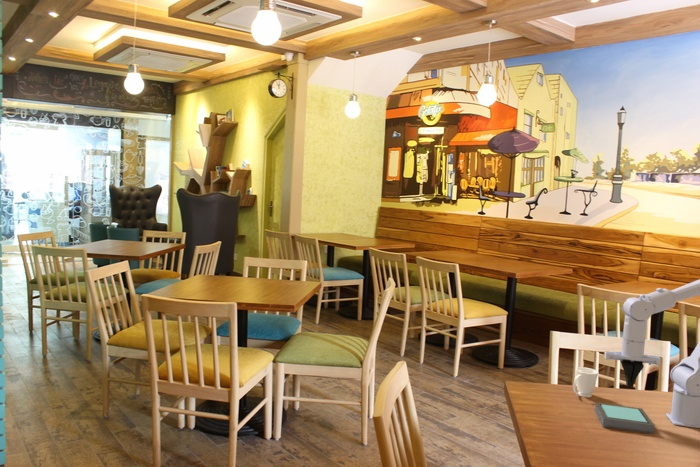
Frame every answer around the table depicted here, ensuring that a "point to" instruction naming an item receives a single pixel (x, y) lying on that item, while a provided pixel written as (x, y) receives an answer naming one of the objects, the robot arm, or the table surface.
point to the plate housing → (624, 421)
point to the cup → (585, 381)
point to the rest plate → (623, 413)
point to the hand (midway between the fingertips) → (629, 386)
